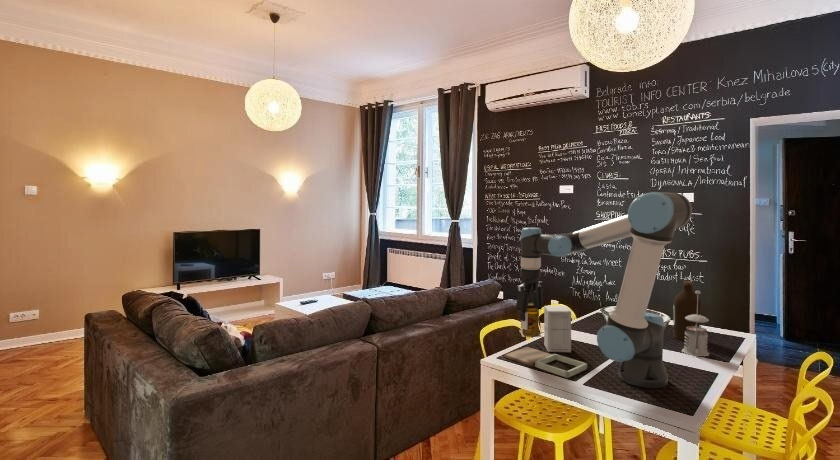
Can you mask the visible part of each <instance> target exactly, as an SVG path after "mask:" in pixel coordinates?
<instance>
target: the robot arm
mask: <svg viewBox="0 0 840 460" xmlns="http://www.w3.org/2000/svg"><path fill="white" fill-rule="evenodd" d="M627 210H628V211H627V214H624V215H621V216H618V217H615V218H613V219H609V220H606V221H603V222H600V223H598V224H595V225H591V226H588V227H586V228H582V229H580V230H576V231H573V232H568V233H560V234H559V233H558V234H547V233H545V234H544V233H543V232H542V229H541V228H540V227H524V228H522V229H521V232H520V239H519V240H520V267H521V268H520V269H519V271H520V273H519V274H520V278H521V279H522V282H521V284H520V285H516V295H517V296H516V306H515V307H516V311H517V312H519V313H520V314H519V315H520V316H519V320H520V330H522V329H525V330H528V313H527V312H526V311H527V306H528V303H529V302H530V301H529V300H530V297H531V303H535V304H537V305H538V307H537V308H538V310H537V311H538V312H539V313H540V310H542V309H543V306H544V300H543V299H544V297H543V296H544V294H543V293H544V292H543V287H544V281H539V279H541V276H542V275H541V274H542V273H541V272H542V271H541V267H542V255H546V256H553V257H557V258H558V257H562V258H563V257H567V256H568V255H569V254H573V253H581V252H584V251H586V250H588V249H592V248H595V247H599V246H602V245H606V244H609V243H612V242H616V241H620V240H623V239H626V238H630V237H632V239H633V241H632V243H631V248H630V252H629V256H628V259H627V263H626V268H625V271H624V274H623V279H622V283H621V286H620V291H619V294H618V297H617V302H616V306H615V309H613V310H611V311H609V313H608V316H607V319H606V320H607V321H606V324H605V325H604V326H602V327H601V328H600V329H598V331H597V334H596V343H597V346H598V348H599V349H600V351H601V352H602V354H603V355H604V356H605V358H608V359H610V360H611V361H614V362H617V363H618V362H619V363H620V365H619V367H618V378H619V379H620V380H621V381H622V382H624V383H626V384H629V385H632V386H635V387H640V388H645V389H646V388H647V389H659V388H664V387H666V386H667V385H668V381H669V378H668V373H667V369H666V367H665V363H664V360H663V353H664V329H665V323H664V317H663V316H661V315H659V314H658V313H651V312H649V311H648V310H647V309H648V307H649V302H650V299H651V296H652V292H653V288H654V285H655V281H656V277H657V273H658V270H659V266H660V263H661V259H662V256H663V252H664V248H665V246H666V245H668V244H670V243H672V241H673V237H674V235H675V234H674V233H675V230H677V229H680V228H682V227H684V226H685V225H687V224H688V223H689V221H690V220H691V218H692V214H693V208H692V204H691V202H690V200H689V199H688V198H687V197H686V196H685V195H683V194H681V193H678V192H676V191H675V192H674V191H672V192H671V191H668V192H667V191H666V192H665V191H662V192H661V191H660V192H658V191H651V192H647V193H643V194H641V195H639V196H637V197H636V198H634V200H633V201H631V203H630V205H629V207H628V209H627ZM647 311H648V312H647Z"/></svg>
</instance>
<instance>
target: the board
mask: <svg viewBox="0 0 840 460" xmlns="http://www.w3.org/2000/svg"><path fill="white" fill-rule="evenodd" d="M550 355H553V353H550V352H545V351H542V350H539V349H535V348H532V347H530V346H526V347H522V348H519V349H516V350H514V351H511V352H507V353H505V354H504V358H506V359H509V360H512V361H515V362H518V363H521V364H523V365H526V366H529V367H532V366H533V367H535V361H537V360H540V359H543V358H545V357H548V356H550Z"/></svg>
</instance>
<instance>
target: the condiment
mask: <svg viewBox="0 0 840 460" xmlns="http://www.w3.org/2000/svg"><path fill="white" fill-rule="evenodd" d="M537 307H538V305H537V304H535V303H532V302H528V306H527V311H526V312H527V313H528V330H525V329H519V330H518V331H519V333H520V334H521V337H522V338H523V337H525V338H542V337H543V336H542V334H541V333H540V332H539V322H540V321H539V319H540V318H539V317H540V311H539V312H538V311H537V310H538V308H537Z"/></svg>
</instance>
